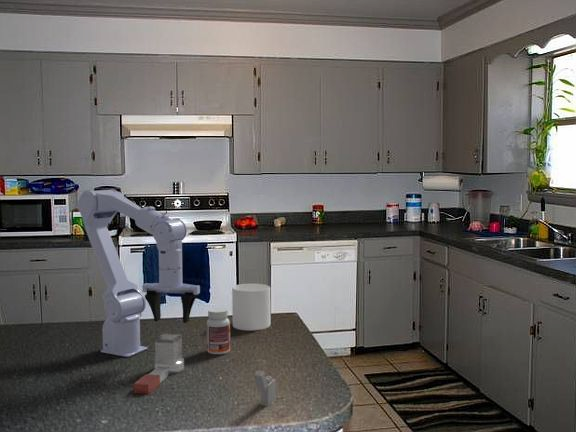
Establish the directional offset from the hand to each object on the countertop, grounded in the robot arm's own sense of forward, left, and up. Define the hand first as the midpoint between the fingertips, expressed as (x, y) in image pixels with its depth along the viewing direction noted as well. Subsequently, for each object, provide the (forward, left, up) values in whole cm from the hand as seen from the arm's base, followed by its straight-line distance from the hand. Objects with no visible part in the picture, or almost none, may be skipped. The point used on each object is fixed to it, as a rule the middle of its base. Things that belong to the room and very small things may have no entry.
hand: (171, 321), depth 149 cm
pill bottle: (+6, +12, -11) cm, 17 cm away
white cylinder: (+1, +38, -11) cm, 39 cm away
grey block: (+3, -5, -8) cm, 10 cm away
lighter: (+34, -13, -11) cm, 38 cm away
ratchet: (+5, -11, -10) cm, 16 cm away
